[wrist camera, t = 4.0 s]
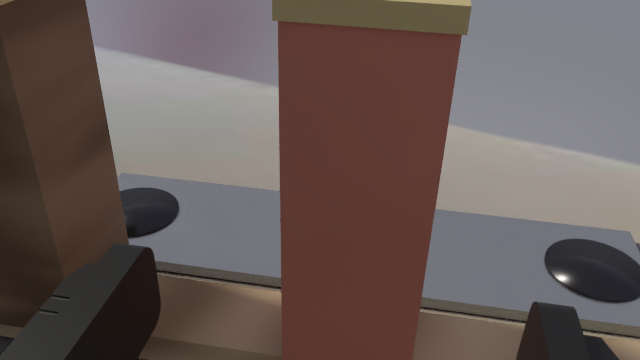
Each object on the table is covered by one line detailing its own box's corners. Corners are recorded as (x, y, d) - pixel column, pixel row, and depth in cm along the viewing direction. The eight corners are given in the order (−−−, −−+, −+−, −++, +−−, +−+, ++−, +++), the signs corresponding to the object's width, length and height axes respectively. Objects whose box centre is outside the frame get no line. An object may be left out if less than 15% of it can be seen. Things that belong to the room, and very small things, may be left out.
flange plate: (54, 255, 25) (51, 244, 25) (123, 181, 30) (121, 171, 30) (673, 341, 22) (678, 330, 21) (626, 240, 27) (630, 229, 27)
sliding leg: (278, 366, 18) (271, -8, 12) (304, 280, 22) (308, -43, 16) (411, 387, 18) (471, 6, 12) (416, 295, 21) (463, -34, 15)
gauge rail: (-27, 345, 21) (-175, -30, 14) (41, 270, 24) (-52, -58, 18) (732, 470, 17) (1004, 53, 11) (682, 362, 21) (863, -1, 14)
